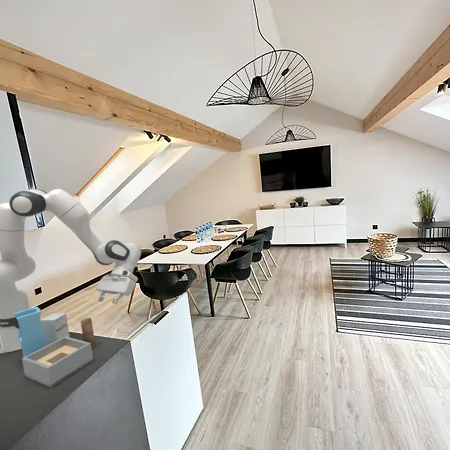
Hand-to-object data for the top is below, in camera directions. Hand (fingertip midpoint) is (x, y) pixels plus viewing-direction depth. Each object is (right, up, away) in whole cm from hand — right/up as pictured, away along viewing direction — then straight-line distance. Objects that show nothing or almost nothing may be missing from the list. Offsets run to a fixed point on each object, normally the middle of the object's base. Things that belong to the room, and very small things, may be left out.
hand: (106, 302), depth 124 cm
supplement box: (-21, -18, -2) cm, 27 cm away
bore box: (-8, -19, -21) cm, 29 cm away
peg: (-4, -17, -8) cm, 19 cm away
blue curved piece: (-22, -19, -14) cm, 33 cm away
